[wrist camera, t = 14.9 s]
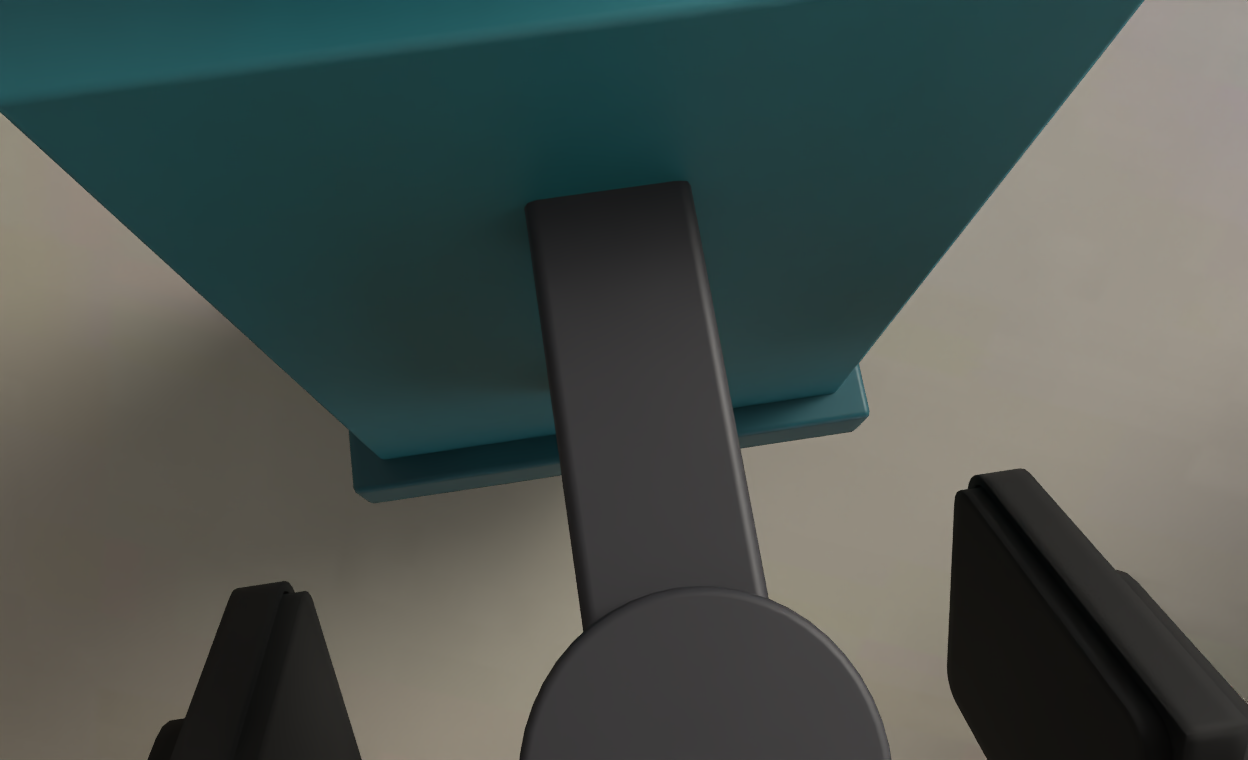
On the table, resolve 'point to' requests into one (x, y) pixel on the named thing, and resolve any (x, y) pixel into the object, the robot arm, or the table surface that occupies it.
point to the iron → (572, 269)
